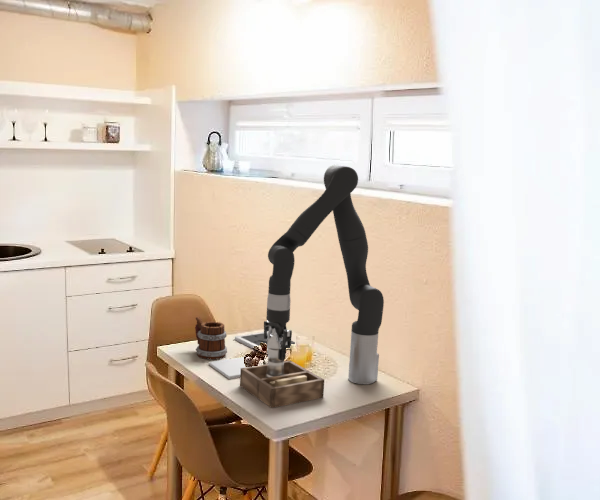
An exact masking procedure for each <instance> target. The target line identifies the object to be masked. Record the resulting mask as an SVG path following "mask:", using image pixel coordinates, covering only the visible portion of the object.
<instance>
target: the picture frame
mask: <svg viewBox="0 0 600 500" xmlns="http://www.w3.org/2000/svg"><path fill="white" fill-rule="evenodd" d="M267 334H268V332H267ZM234 341H236V342H237V343H238V342H239V343H241V344H242V345H245V346H246V347H248V348H251V349H252V348H253V347H254V346H259V345H260V343H261V342H263V343H266V344H267V339H264V331H261V332H255V333H248V334H240V335H235V336H234ZM287 343H288V342H287ZM291 344H295V341H293V340H291Z"/></svg>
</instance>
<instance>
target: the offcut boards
mask: <svg viewBox="0 0 600 500" xmlns="http://www.w3.org/2000/svg"><path fill="white" fill-rule="evenodd" d="M305 381H307V376H305V375H302V376H296V377H290V378H285V379H279V380H275V381H272V382H269V384H270V385H271V386H273V387H278V386H283V385H289V384H294V383H300V382H305Z"/></svg>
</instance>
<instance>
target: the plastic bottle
mask: <svg viewBox="0 0 600 500" xmlns="http://www.w3.org/2000/svg"><path fill="white" fill-rule="evenodd" d="M271 334H272V336H271V337H270V339H269V340H268V342H267V352H268V353H267V364H268V366H267V373H266V377H265V378H268V377H274V376H280V375H284V361H285V359H284V360H279V359H278V357H279V345H278V342H277V341H276V337H275V334H274V331H273V329H272V333H271ZM279 339H283V337H282V338H279ZM281 344H282V342H281Z"/></svg>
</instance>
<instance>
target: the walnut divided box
mask: <svg viewBox="0 0 600 500" xmlns="http://www.w3.org/2000/svg"><path fill="white" fill-rule="evenodd" d="M267 366H268V363H266V364H262V365H259V366H252V367H246V368H241V373H240V377H239V378H240V379H239V386H240V387H241V388H243V390H245V391H247V392H248V393H250V394H251V395H252V396H254V398H257V399H258V400H260V401H261V402H262V403H264V404H266V405H267V406H268V407H269V408H271V409H274V408H278V407H283V406H284V407H285V406H288V405H293V404H299V403H303V402H308V401H313V400H314V401H315V400H318V399H323V398H324V392H325V391H324V390H325V379H324V378H322V377H321V376H319V375H317V374H315V373H313V372H311V371H310V370H308V369H306V368H305V367H303V366H301V365H299V364H297V363H296V362H294V361H292V360H286V361H285V360H284V375H280V376H274V377H268V378H265V377H266V373H267ZM302 375H305V376H307V381H305V382H300V383H294V384H289V385H283V386H278V387H273V386H271V385H270V384H269V382H272V381H275V380H279V379H285V378H290V377H296V376H302Z"/></svg>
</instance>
